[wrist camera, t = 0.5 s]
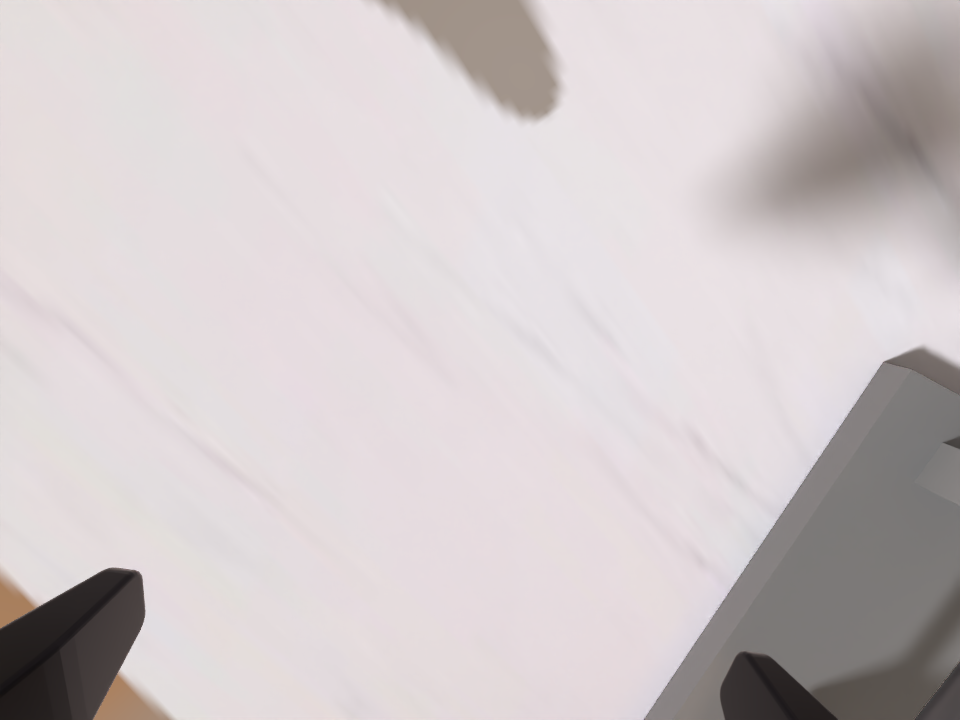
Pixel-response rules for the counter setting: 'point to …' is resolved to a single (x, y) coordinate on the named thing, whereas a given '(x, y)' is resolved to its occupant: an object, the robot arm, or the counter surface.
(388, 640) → the counter surface
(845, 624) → the stand
